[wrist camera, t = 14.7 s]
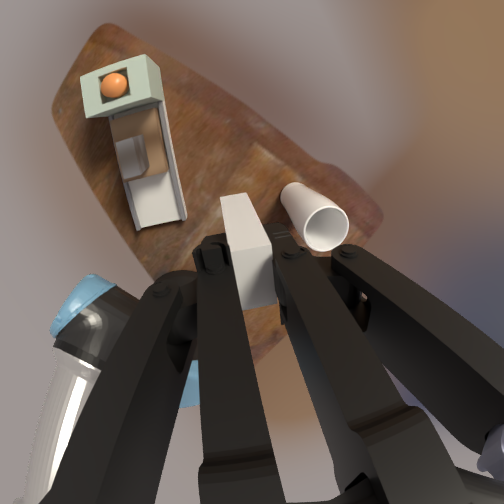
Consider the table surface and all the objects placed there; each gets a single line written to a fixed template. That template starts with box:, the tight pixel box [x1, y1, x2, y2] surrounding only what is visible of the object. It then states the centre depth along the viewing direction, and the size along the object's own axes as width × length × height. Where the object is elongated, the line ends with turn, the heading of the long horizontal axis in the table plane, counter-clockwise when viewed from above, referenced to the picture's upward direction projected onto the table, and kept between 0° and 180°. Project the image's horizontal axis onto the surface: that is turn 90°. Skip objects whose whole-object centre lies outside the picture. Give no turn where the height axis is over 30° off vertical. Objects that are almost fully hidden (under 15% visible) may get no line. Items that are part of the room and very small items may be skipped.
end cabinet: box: [80, 54, 165, 118], centre depth 30 cm, size 6×9×11 cm, turn 98°
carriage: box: [110, 108, 169, 183], centre depth 34 cm, size 10×7×9 cm
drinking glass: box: [280, 182, 349, 252], centre depth 42 cm, size 7×7×15 cm
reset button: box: [101, 73, 129, 98], centre depth 26 cm, size 3×3×2 cm
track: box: [108, 101, 187, 231], centre depth 40 cm, size 20×9×2 cm, turn 7°
